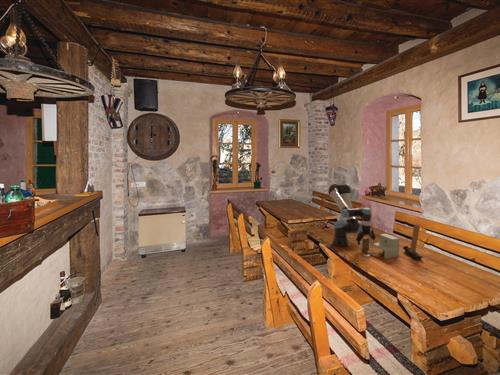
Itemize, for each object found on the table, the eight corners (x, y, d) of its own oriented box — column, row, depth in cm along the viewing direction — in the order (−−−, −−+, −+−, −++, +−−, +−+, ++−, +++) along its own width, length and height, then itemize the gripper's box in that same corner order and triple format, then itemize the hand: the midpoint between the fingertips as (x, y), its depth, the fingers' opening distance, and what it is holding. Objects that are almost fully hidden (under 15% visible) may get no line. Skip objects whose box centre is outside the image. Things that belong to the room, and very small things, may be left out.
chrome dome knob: (362, 255, 240) (362, 253, 240) (368, 254, 241) (368, 253, 241) (365, 257, 234) (365, 256, 234) (372, 257, 235) (372, 255, 235)
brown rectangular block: (362, 250, 251) (362, 237, 249) (365, 249, 252) (366, 237, 250) (376, 257, 234) (377, 243, 232) (380, 256, 235) (380, 243, 233)
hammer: (422, 262, 225) (428, 230, 216) (416, 262, 225) (422, 230, 216) (408, 250, 244) (413, 219, 235) (402, 250, 244) (407, 220, 235)
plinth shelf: (372, 252, 246) (372, 235, 244) (384, 250, 250) (385, 233, 248) (385, 258, 230) (386, 240, 228) (398, 256, 234) (399, 238, 233)
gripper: (357, 227, 239) (357, 250, 242) (380, 224, 246) (379, 246, 249) (352, 225, 246) (351, 247, 249) (374, 222, 254) (373, 244, 256)
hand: (365, 247), depth 249 cm, fingers open, 13 cm apart
